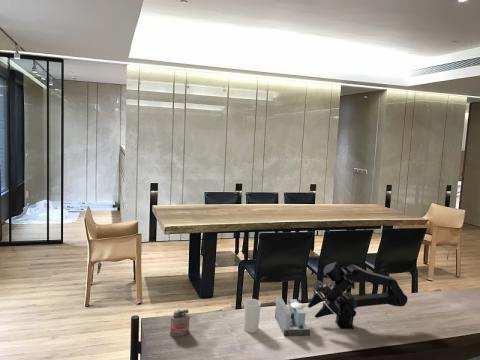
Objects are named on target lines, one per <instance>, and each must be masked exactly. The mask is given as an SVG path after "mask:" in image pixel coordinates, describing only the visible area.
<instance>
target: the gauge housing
mask: <svg viewBox="0 0 480 360" xmlns="http://www.w3.org/2000/svg"><path fill="white" fill-rule="evenodd" d="M275 299H276V300H275V313H274V318H275V320H276V322H277V324H278V327H279V330H280V331H281V332H282V334H283V336H284V337H311V327H310V326H304V327H303V328H301V327H293V326H291V322H290V321H291V313H290V311H289V307H288V306H287V304H286V303H285V301H284V299H283V298H282V296H281V295H280V296H277V295H276V298H275Z"/></svg>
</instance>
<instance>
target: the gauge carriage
mask: <svg viewBox="0 0 480 360" xmlns="http://www.w3.org/2000/svg"><path fill="white" fill-rule="evenodd" d="M288 306H289V307H288V309H289V311H290V313H291V321H290V325H291V327H301V328H303V327H305V323H306V321H305V320H306V311H305V310H304V309H305V305H304V304H303V303H300V302H299V301H298V300H297V298H296V299H295V298H294V299H293V298H291V299H289V305H288Z"/></svg>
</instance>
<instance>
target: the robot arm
mask: <svg viewBox="0 0 480 360" xmlns="http://www.w3.org/2000/svg"><path fill="white" fill-rule="evenodd" d="M323 273H324V274H325V275H326V276H327V278H329V280H330V281H332V282H333V283H328V284H326V282H325V283H324V282H323V281H321V280H319V279H317V280H316V282H315V284H314V285H313V287H312V288H313V289H312V292H313V295H312V298H311V300H310V301H309V303H308V305H307V307H308V308H309V309H311V308H313V307H314V306H317V305H318V304H320V303H321V302H322V307H321V308H320V309H319V310H318V311H317V312H316V314H315V315H314V318H316V319H319V318H321V317H326V316H330V315H335V316H336V318H335V321H334V322H335V324H336V325H337V326H338V327H339V328H340V329H342V330H343V329H348V330H349V329H352V330H353V329H355V326H354V317H356V315H357V311H356V310H355V309H357V308H363V307H371V306H380V305H390V306H394V307H404V306H406V304H407V303H408V300H409V299H408V296H407V294H405V293H404V292H403V290H402V288H401V286H400V285H399V283H398V281H397V280H396V279H395V278H394V277H392V276H390V275H389V276H387V275H383V274H380V273H375V272H372V271H368V270H366V269H363V268H361V267H360V266H357V265H355V264H349V265H348V266H342V267H341V266H339V264H338V263H337V262H336V261H334V262H332V263H329V264H326V265H325V267H323ZM364 282H369V283H372V284H376V285H379V286H380V285H381V286H384V287H386V291H385V292H383V293H373V294H363V295H353V294H352V293H351V292H350V291H347V290H348V289H349V288H350V287H351V288H352V289H353V290H355V287H356V285H355V284H356V283H364ZM346 291H347V292H346ZM324 301H325V302H324Z"/></svg>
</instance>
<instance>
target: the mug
mask: <svg viewBox="0 0 480 360" xmlns="http://www.w3.org/2000/svg"><path fill="white" fill-rule="evenodd" d="M261 305H262V303H261V301H260V300H259V299H256V298H248V299H246V300H245V301H244V308H243V309H244V310H243V315H244V316H243V330H244V332H247V333H257V332H258V331H259V324H260V316H261V315H260V313H261Z"/></svg>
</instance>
